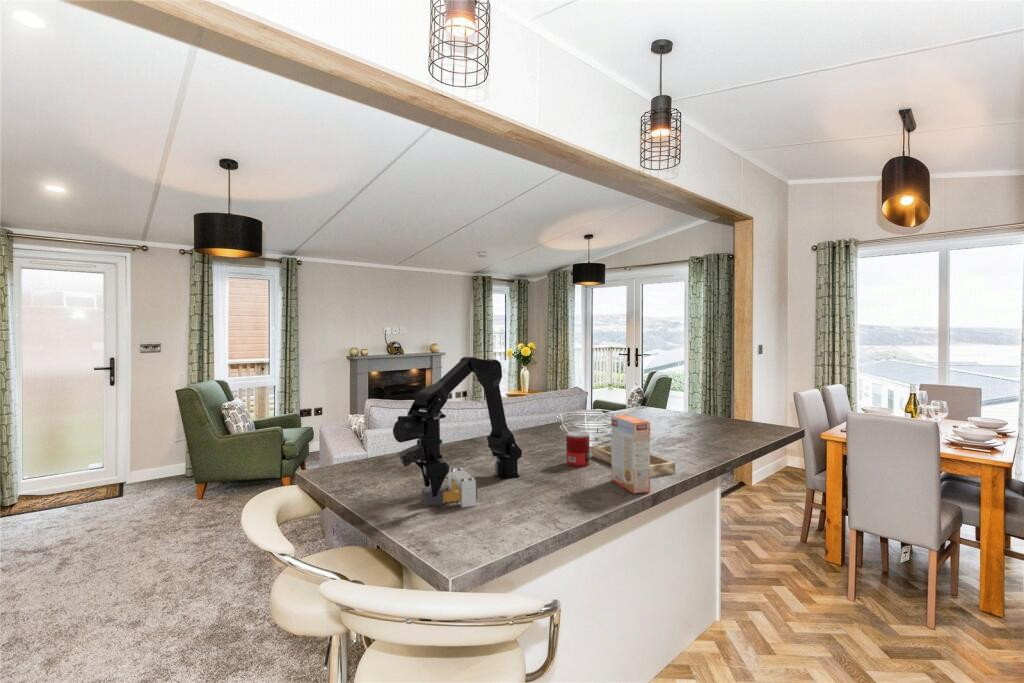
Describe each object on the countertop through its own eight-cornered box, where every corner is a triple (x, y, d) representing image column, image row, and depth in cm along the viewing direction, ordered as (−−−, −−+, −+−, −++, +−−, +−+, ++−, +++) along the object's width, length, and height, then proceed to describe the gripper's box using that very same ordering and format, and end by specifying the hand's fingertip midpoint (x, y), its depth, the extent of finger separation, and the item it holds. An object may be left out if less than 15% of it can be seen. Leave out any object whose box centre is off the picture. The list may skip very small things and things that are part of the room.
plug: (473, 494, 142) (473, 481, 142) (477, 499, 138) (477, 485, 138) (422, 502, 137) (422, 488, 137) (425, 506, 133) (425, 492, 133)
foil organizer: (621, 452, 188) (621, 443, 188) (675, 473, 160) (675, 462, 160) (593, 456, 183) (592, 447, 183) (643, 478, 155) (642, 467, 155)
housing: (461, 490, 146) (461, 466, 146) (476, 505, 133) (475, 479, 133) (448, 492, 144) (448, 468, 144) (462, 508, 132) (461, 481, 131)
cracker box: (651, 492, 142) (651, 421, 141) (632, 494, 140) (632, 422, 140) (628, 478, 155) (627, 413, 155) (610, 480, 154) (610, 414, 153)
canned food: (591, 467, 169) (590, 435, 169) (568, 467, 169) (567, 436, 169) (587, 461, 176) (587, 431, 176) (565, 461, 177) (565, 431, 176)
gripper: (395, 432, 141) (396, 485, 141) (406, 446, 123) (407, 506, 124) (432, 428, 145) (433, 480, 145) (449, 441, 127) (450, 500, 128)
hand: (430, 491), depth 135 cm, fingers open, 9 cm apart
